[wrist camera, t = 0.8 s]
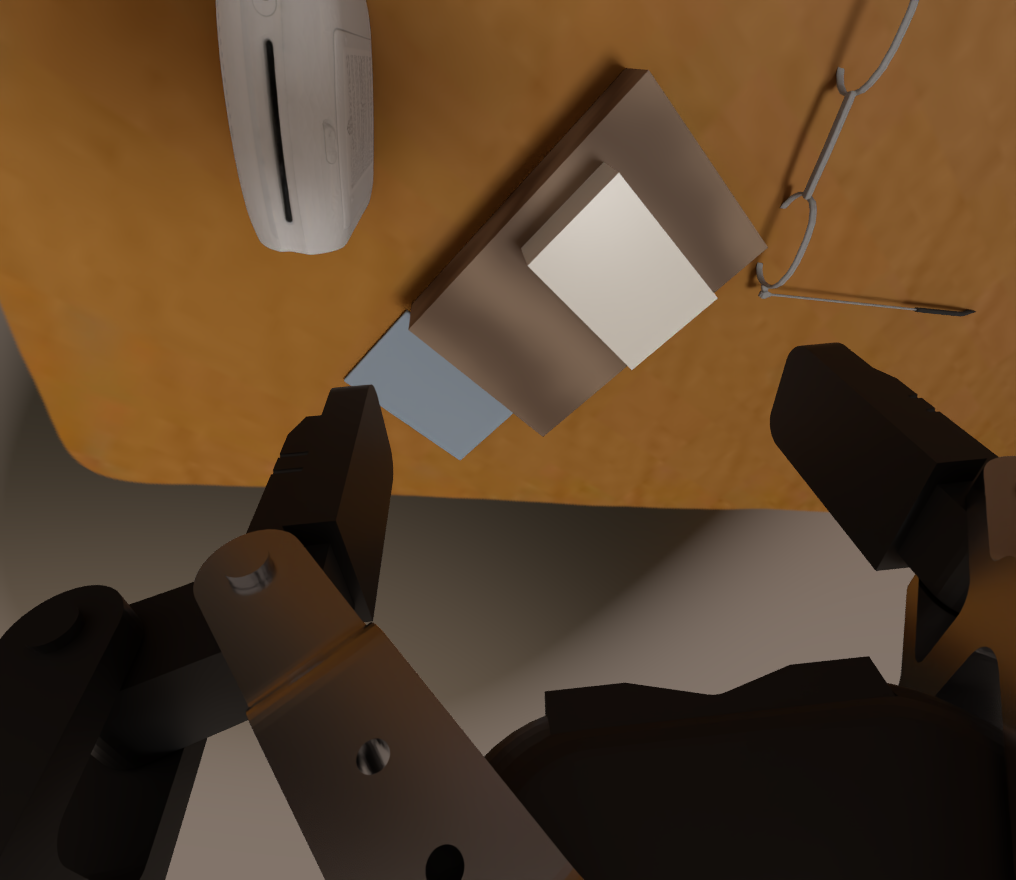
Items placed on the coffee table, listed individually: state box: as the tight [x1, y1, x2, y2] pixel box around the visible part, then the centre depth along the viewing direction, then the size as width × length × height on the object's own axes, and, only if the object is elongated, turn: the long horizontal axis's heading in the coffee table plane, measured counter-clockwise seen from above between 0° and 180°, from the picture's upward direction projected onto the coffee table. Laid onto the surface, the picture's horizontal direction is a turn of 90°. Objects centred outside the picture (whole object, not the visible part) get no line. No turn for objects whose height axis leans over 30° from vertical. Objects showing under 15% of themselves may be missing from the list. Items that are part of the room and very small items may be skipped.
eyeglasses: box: [756, 0, 976, 316], centre depth 32 cm, size 18×19×4 cm
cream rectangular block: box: [521, 162, 717, 370], centre depth 29 cm, size 6×9×3 cm, turn 45°
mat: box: [344, 310, 513, 460], centre depth 39 cm, size 7×11×1 cm, turn 45°
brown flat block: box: [408, 68, 768, 436], centre depth 33 cm, size 18×12×4 cm, turn 135°
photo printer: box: [216, 0, 374, 255], centre depth 23 cm, size 10×4×12 cm, turn 173°
